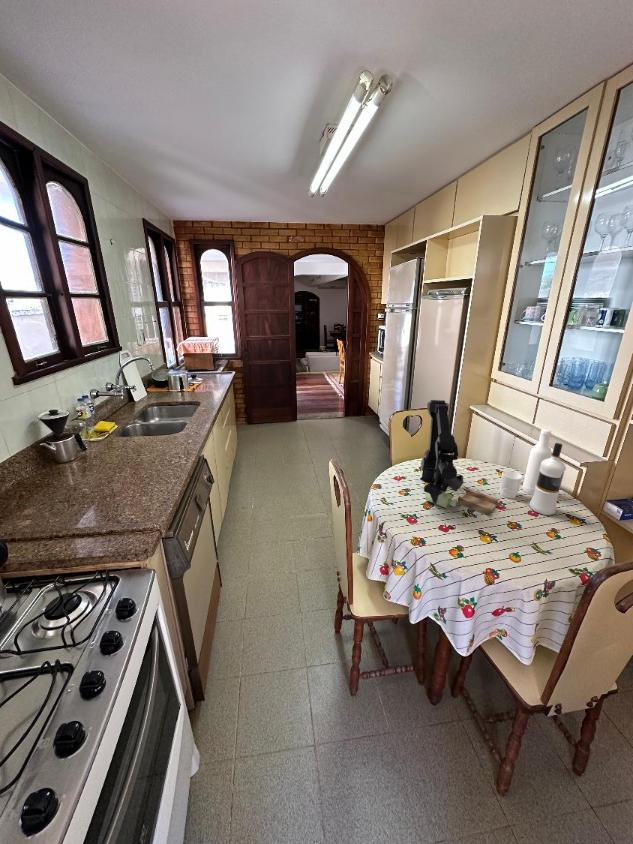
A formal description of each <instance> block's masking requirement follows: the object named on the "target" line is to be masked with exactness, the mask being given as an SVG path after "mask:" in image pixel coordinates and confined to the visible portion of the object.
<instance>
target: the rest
mask: <svg viewBox="0 0 633 844" xmlns="http://www.w3.org/2000/svg"><path fill="white" fill-rule="evenodd" d="M456 501H457V502H460V506H462V507H465V508H467V509H470V510H473V511H474V512H478V513H481V514H483V515H485V516H488V517H490V515H491V514H492V513H493V511H494V510H495V509H497V507H498V504H499V499H498V498H496V497H493V496H490V495H487V494H485V493H481V492H479V491H475V490H473V489H470V488H466V490H465V494H464V495H462V496H458V497H457V500H456Z"/></svg>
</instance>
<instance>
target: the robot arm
mask: <svg viewBox="0 0 633 844" xmlns="http://www.w3.org/2000/svg"><path fill="white" fill-rule="evenodd" d="M449 406H450V404H449V403H448V402H446V401H445V400H443V399H441V400H440V399H438V400H437V399H430V401H429V402H427V406H426V408H427V413H428V415H429V417H430V427H429V429H430V430H429V438H428V439H429V442H428V449H427V450H426V451H425V452H424V456H423V458H421V461H420V467H421V471H422V473H421V477H420V478H419V480H420V481H423V482H425V483H427V484H425V485H424V486H423V492H425V493H426V492H427V493H429V494H430V496H431V498H432V501H433V503H432V504H435V505H437V504H436V503H437V500H438V497H439V495H441V494H442V493H443V492H445V493H447V490H448V488H450V489H452V490H453V491H454V492H458V490H460V489H461V487H462V486H463V485H464V482H465V481H464V475H462V474H458V472H457V471H458V470H457V468H456V466H455V465H454V461H458V457H459V449H458V448H459V447H458V444H457V442H456V440H455V439H456V438H455V437H454V435H453V434H452V433H451V429H450V421H449V408H450V407H449ZM442 491H443V492H442Z"/></svg>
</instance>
